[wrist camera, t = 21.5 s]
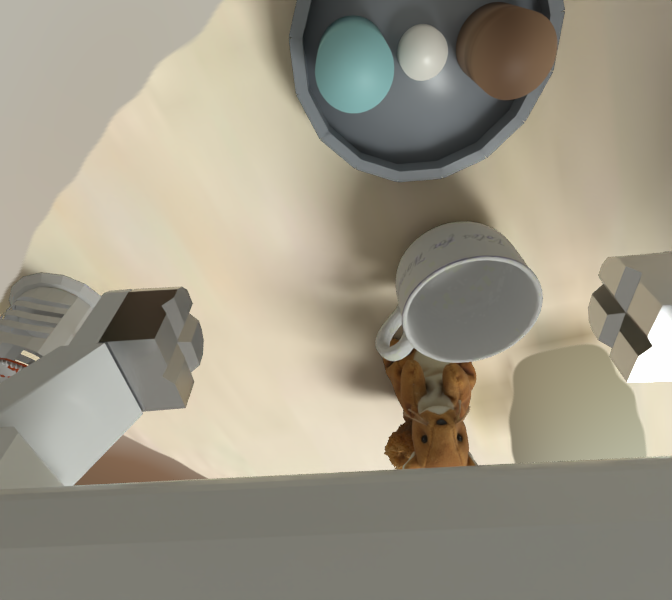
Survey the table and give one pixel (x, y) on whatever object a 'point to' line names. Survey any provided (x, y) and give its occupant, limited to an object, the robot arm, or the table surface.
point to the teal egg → (353, 65)
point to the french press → (42, 318)
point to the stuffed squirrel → (430, 412)
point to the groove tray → (412, 89)
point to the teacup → (461, 296)
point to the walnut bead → (506, 49)
